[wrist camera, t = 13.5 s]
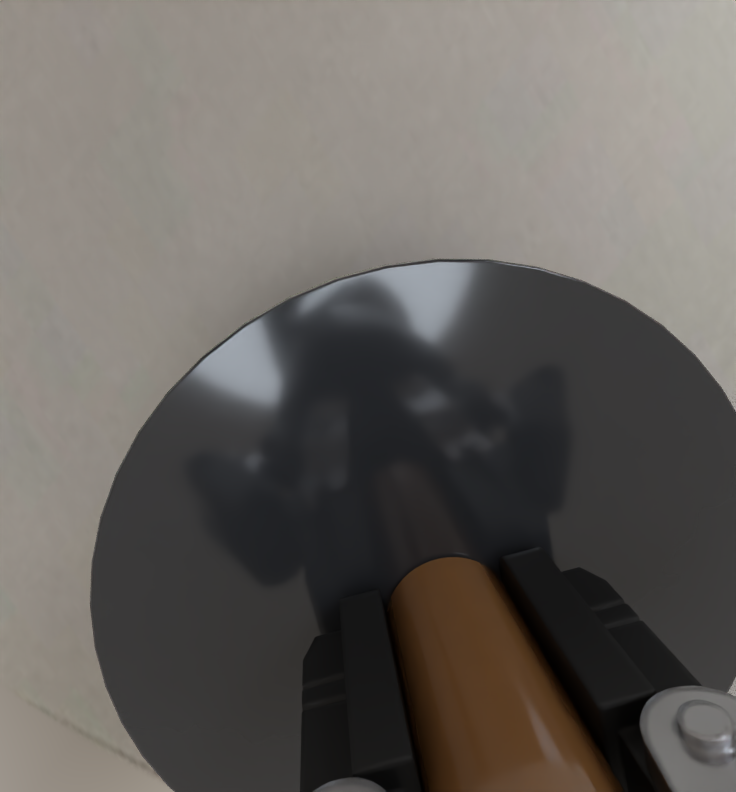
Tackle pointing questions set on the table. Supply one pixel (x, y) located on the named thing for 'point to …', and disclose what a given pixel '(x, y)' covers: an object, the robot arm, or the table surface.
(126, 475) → the lid
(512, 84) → the table surface
